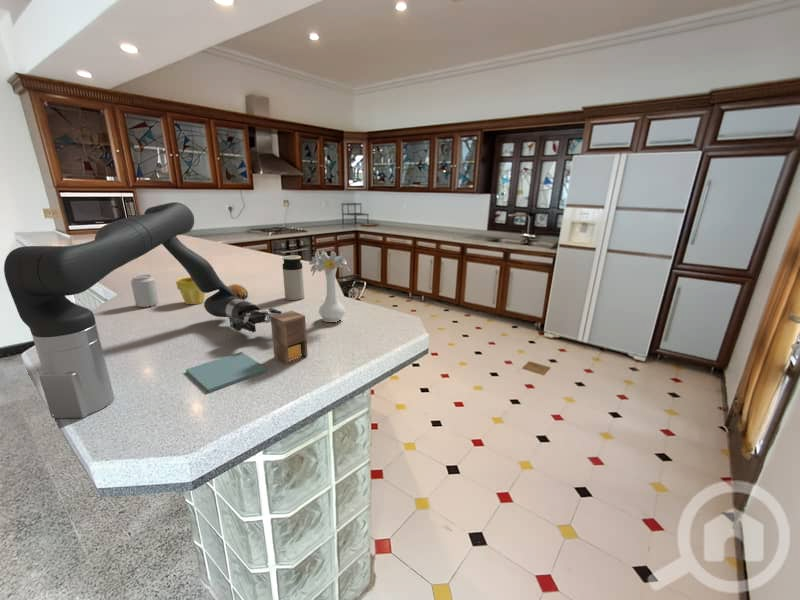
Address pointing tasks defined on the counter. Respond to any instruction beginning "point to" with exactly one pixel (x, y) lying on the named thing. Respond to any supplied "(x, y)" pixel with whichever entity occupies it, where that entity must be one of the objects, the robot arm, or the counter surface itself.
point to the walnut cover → (288, 333)
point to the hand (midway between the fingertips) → (268, 324)
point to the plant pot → (190, 291)
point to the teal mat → (225, 371)
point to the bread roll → (239, 291)
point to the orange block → (294, 351)
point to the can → (144, 290)
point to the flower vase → (330, 284)
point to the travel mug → (293, 278)
